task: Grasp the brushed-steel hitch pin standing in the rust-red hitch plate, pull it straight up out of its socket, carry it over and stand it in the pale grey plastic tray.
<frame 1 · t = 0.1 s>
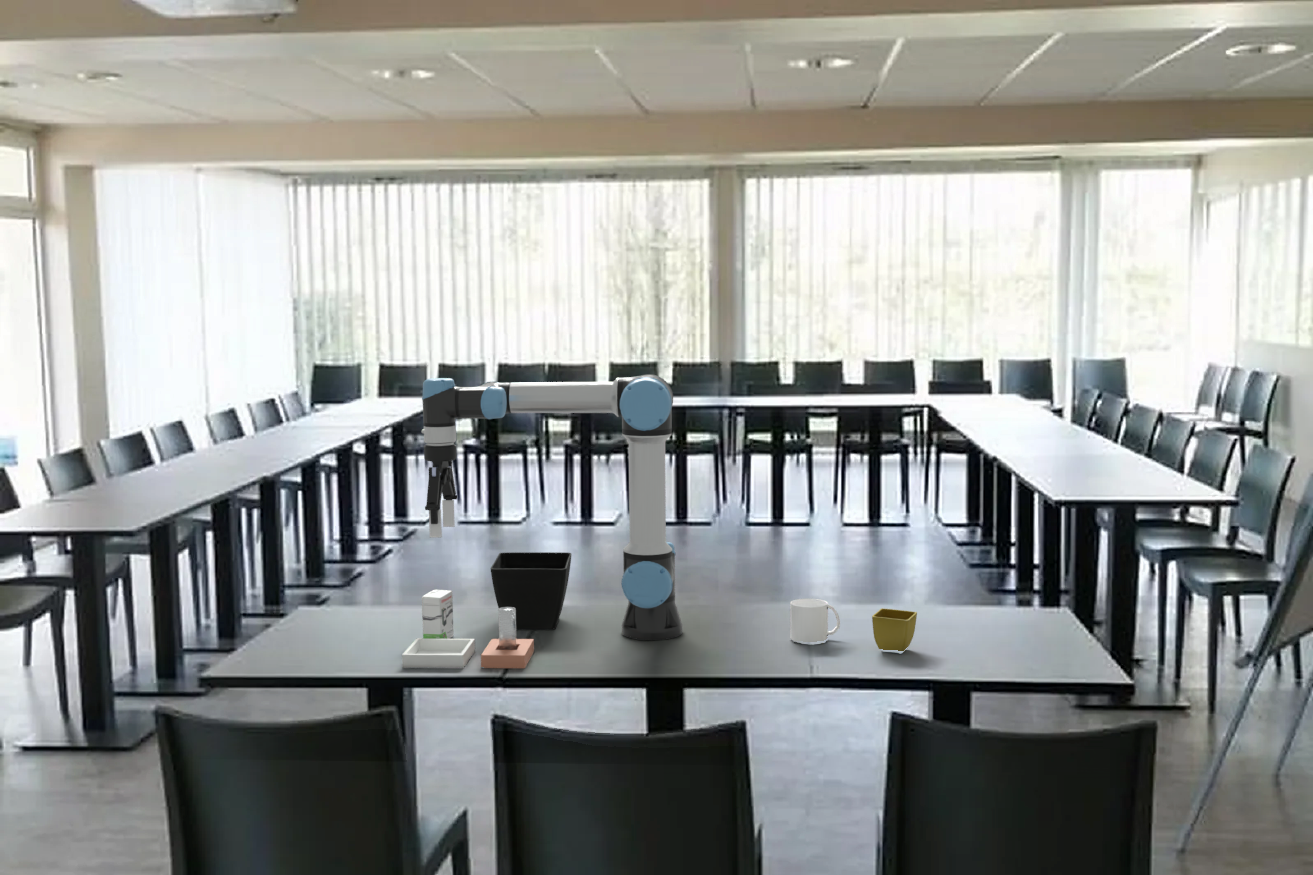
hand: (442, 532, 321), 28 cm above the table, fingers open, 13 cm apart
hitch plate: (508, 659, 313), on the table
pin: (507, 634, 312), in the hitch plate
mug: (815, 641, 327), on the table
tray: (439, 659, 313), on the table
flower pot: (894, 652, 317), on the table
flower pot 2: (533, 625, 345), on the table
ink box: (438, 641, 330), on the table
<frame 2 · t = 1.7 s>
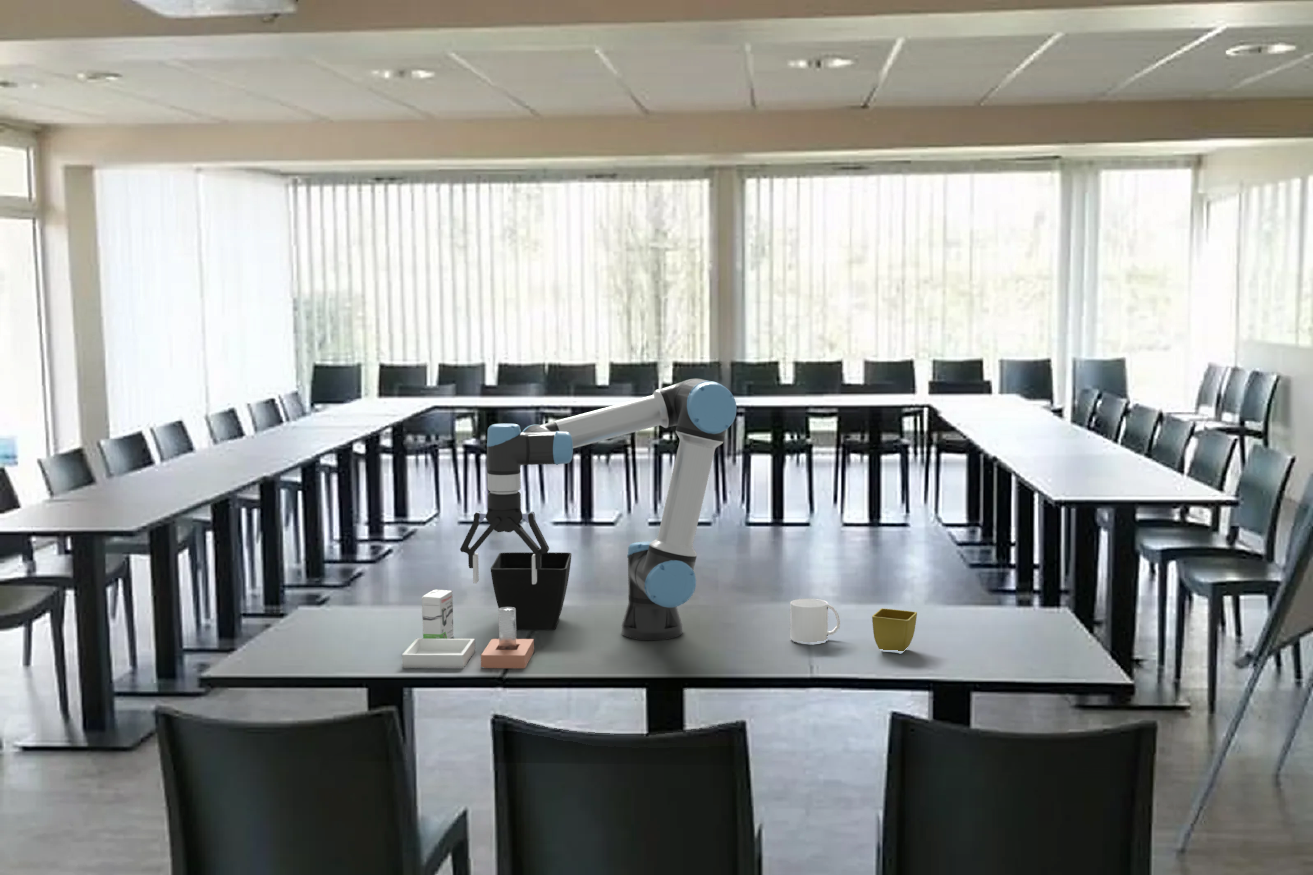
hand: (505, 582, 310), 18 cm above the table, fingers open, 13 cm apart
nothing on the table moved.
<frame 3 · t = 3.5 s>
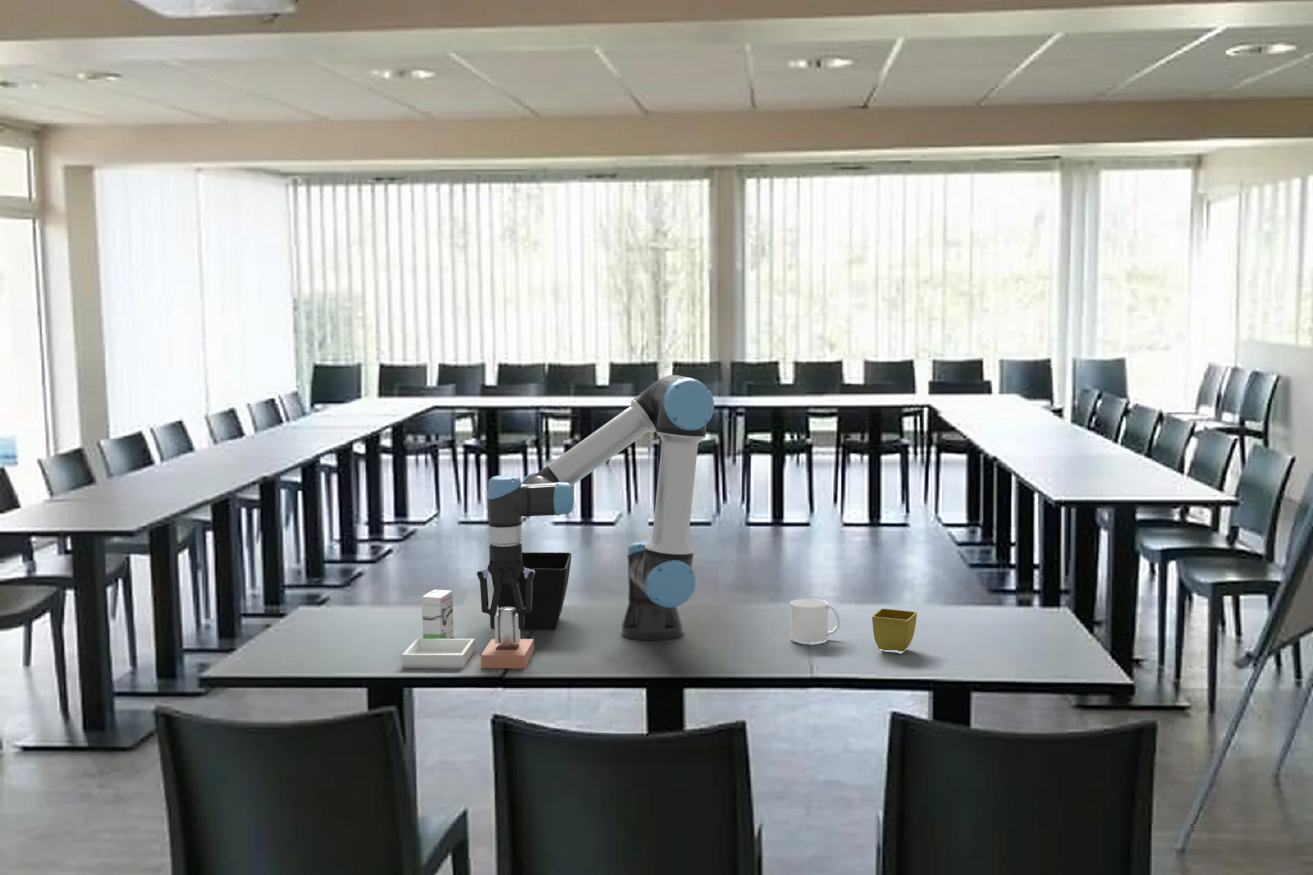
hand: (507, 642, 312), 4 cm above the table, fingers closed on pin, 4 cm apart
pin: (507, 634, 312), in the hitch plate, touching gripper
everything else where it was.
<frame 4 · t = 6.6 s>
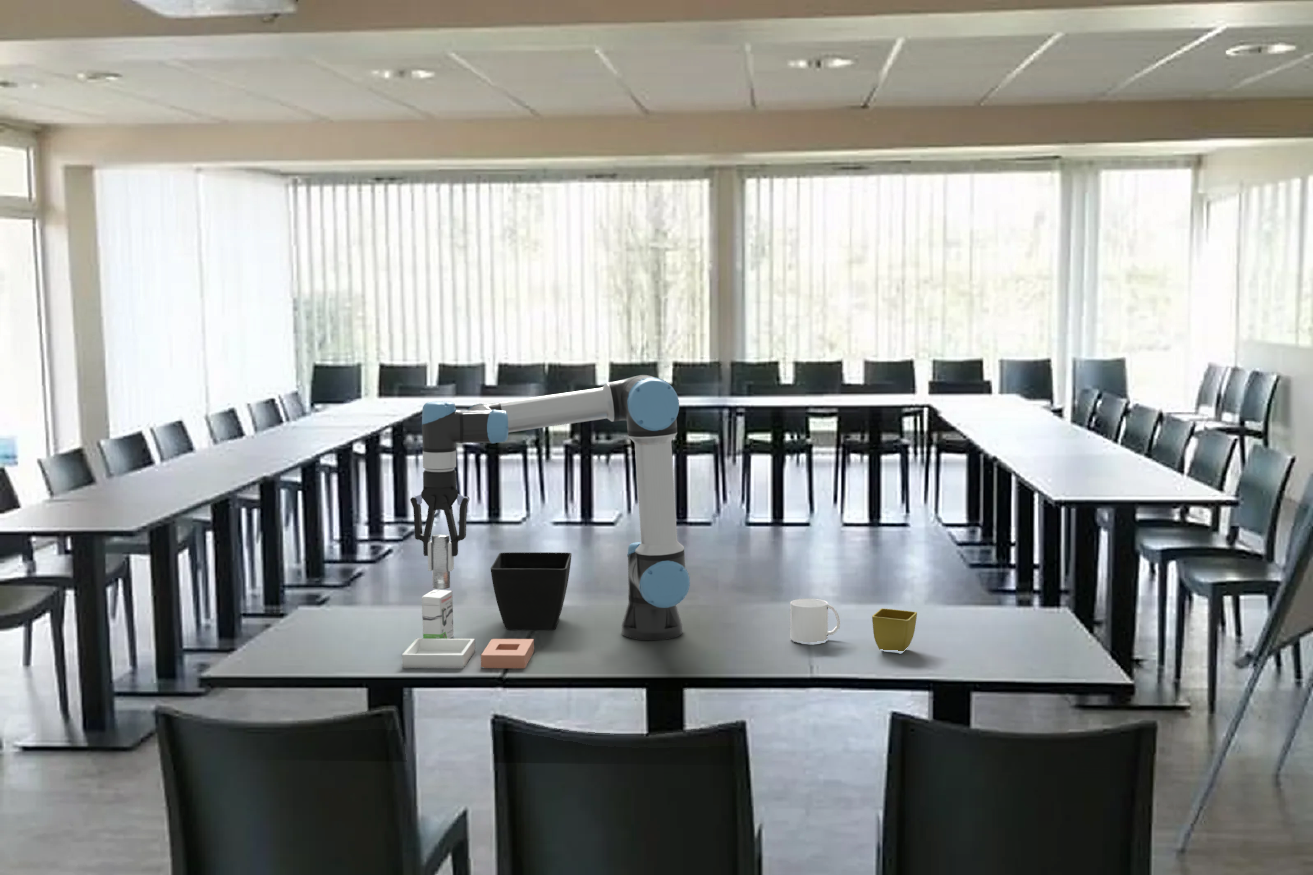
hand: (441, 569, 310), 21 cm above the table, fingers closed on pin, 4 cm apart
pin: (441, 561, 310), point 23 cm above the table, touching gripper
everything else where it was.
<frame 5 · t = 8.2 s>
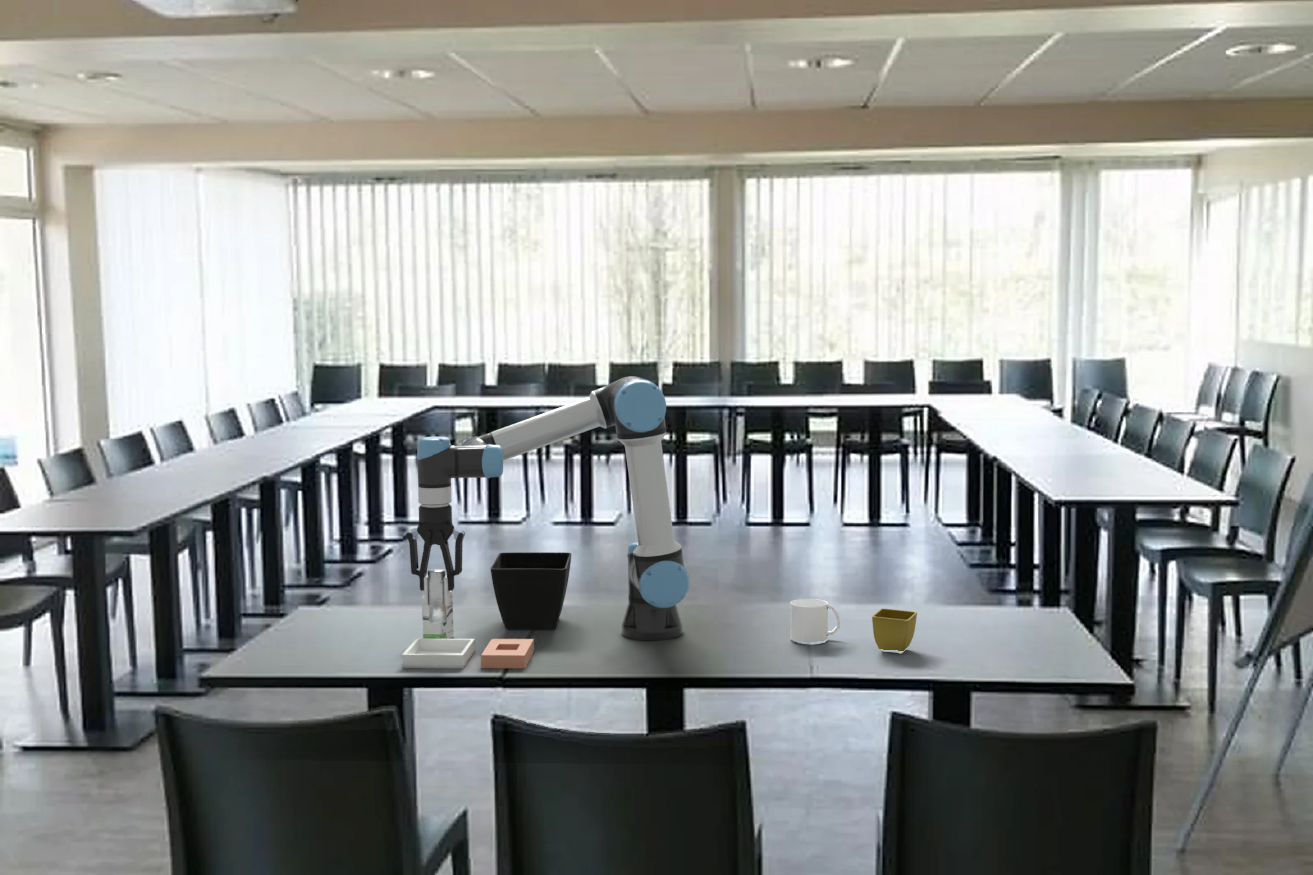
hand: (437, 604, 311), 13 cm above the table, fingers closed on pin, 4 cm apart
pin: (437, 596, 311), point 15 cm above the table, touching gripper
everything else where it was.
when the fingers open (6 cm above the table, at t = 9.8 s): pin drops 1 cm, resting on tray.
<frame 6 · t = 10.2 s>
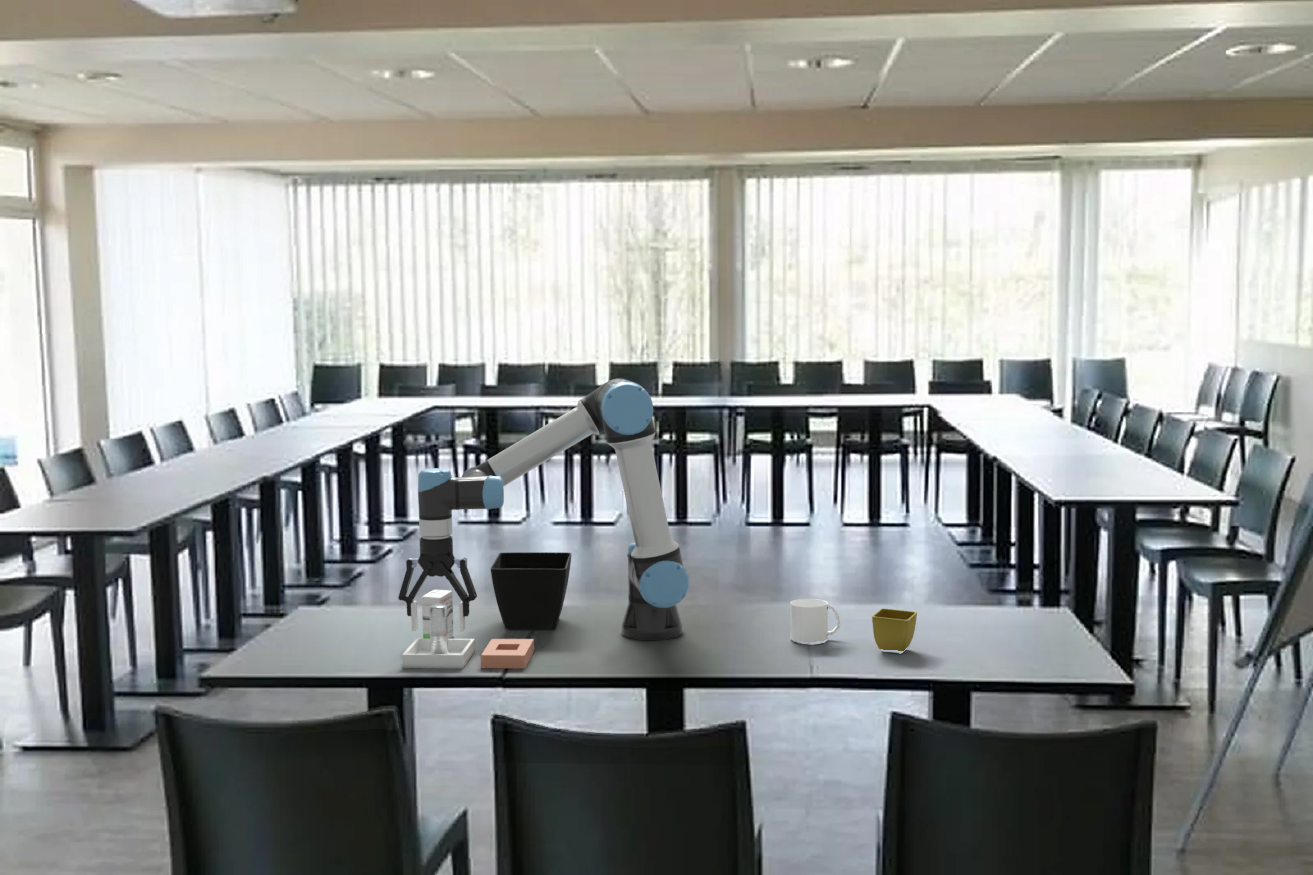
hand: (438, 629, 312), 7 cm above the table, fingers open, 10 cm apart
pin: (438, 631, 312), in the tray, point 7 cm above the table
everything else where it was.
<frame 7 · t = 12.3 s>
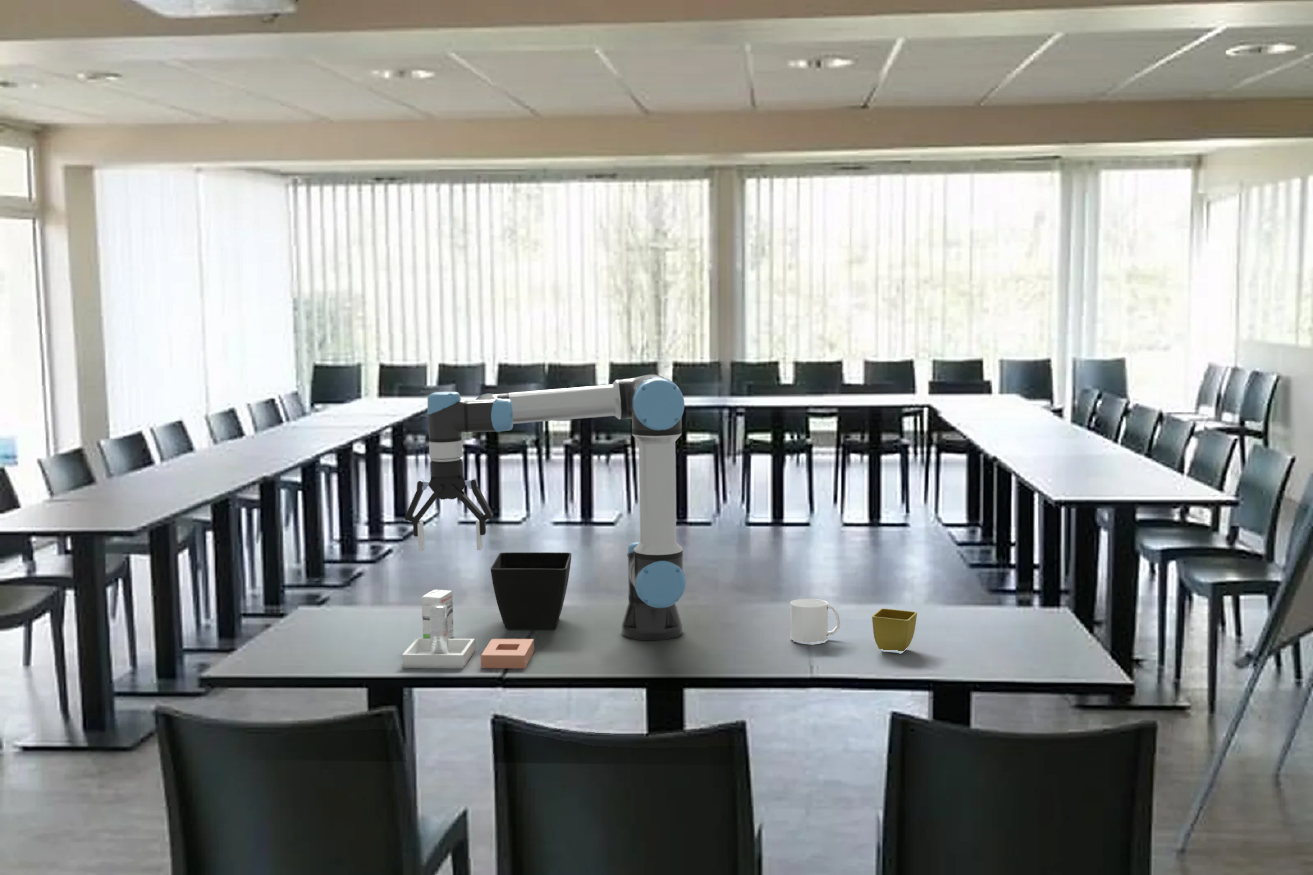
hand: (450, 549, 313), 25 cm above the table, fingers open, 13 cm apart
nothing on the table moved.
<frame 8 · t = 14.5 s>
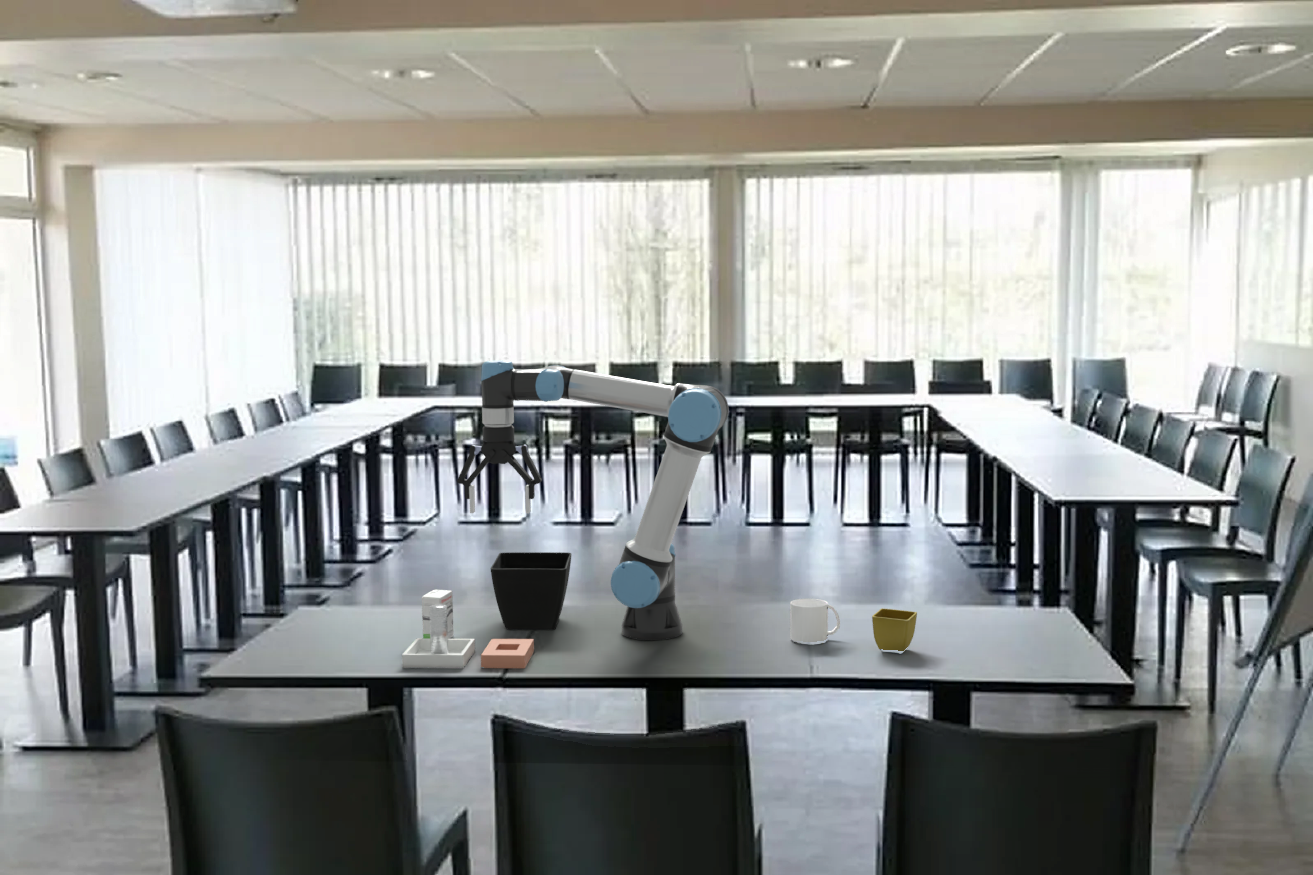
hand: (500, 512, 325), 32 cm above the table, fingers open, 13 cm apart
nothing on the table moved.
at the end: pin inside the target area on the tray (0.1 cm from its centre), point 6.6 cm above the tray's base; pin tilted 0°; the gripper is holding nothing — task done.
